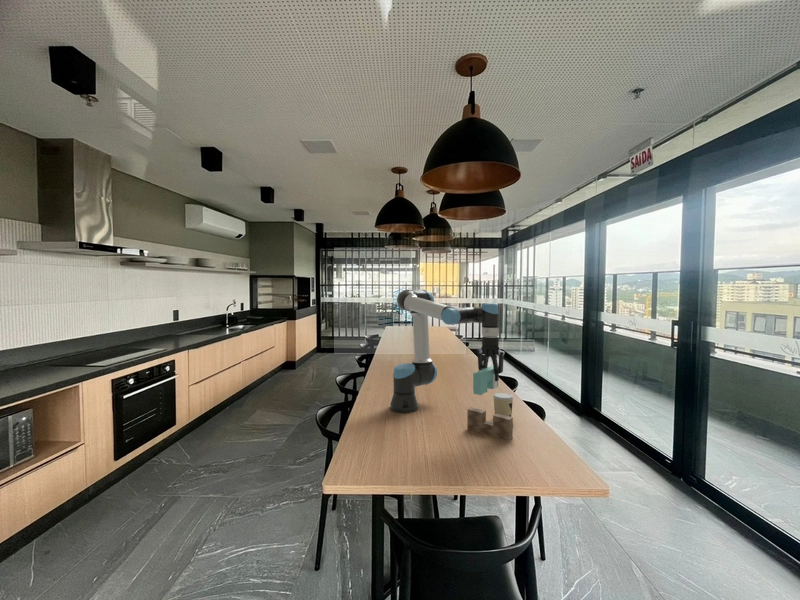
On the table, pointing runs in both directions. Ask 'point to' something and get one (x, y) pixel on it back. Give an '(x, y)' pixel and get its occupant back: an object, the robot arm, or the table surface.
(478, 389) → the teal rectangular block
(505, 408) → the coffee cup
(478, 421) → the walnut rail
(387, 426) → the table surface
